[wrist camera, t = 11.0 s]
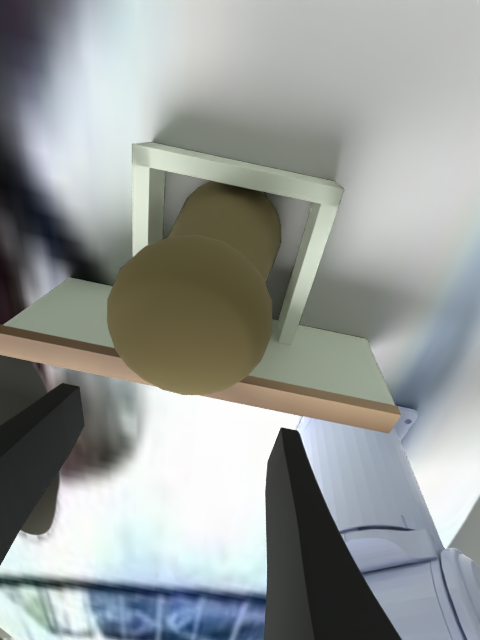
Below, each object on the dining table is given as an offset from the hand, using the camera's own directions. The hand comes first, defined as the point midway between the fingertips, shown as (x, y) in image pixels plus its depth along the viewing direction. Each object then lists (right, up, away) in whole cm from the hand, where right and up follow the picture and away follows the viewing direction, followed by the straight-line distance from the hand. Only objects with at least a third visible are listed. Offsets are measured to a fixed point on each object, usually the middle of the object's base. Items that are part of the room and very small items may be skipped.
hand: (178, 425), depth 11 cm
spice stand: (+2, +8, +7) cm, 11 cm away
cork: (+2, +9, +7) cm, 11 cm away
